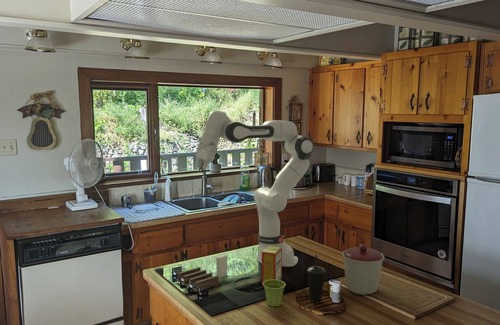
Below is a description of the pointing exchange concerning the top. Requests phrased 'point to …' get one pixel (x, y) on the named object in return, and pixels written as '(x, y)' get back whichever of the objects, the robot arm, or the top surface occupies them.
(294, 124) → the robot arm
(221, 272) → the clay tile
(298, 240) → the top surface
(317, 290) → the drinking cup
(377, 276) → the canister
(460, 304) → the top surface
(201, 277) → the rack
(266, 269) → the baking soda box
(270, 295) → the plant pot
